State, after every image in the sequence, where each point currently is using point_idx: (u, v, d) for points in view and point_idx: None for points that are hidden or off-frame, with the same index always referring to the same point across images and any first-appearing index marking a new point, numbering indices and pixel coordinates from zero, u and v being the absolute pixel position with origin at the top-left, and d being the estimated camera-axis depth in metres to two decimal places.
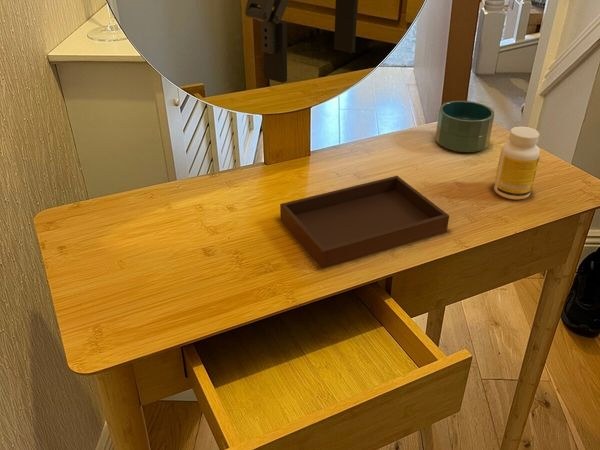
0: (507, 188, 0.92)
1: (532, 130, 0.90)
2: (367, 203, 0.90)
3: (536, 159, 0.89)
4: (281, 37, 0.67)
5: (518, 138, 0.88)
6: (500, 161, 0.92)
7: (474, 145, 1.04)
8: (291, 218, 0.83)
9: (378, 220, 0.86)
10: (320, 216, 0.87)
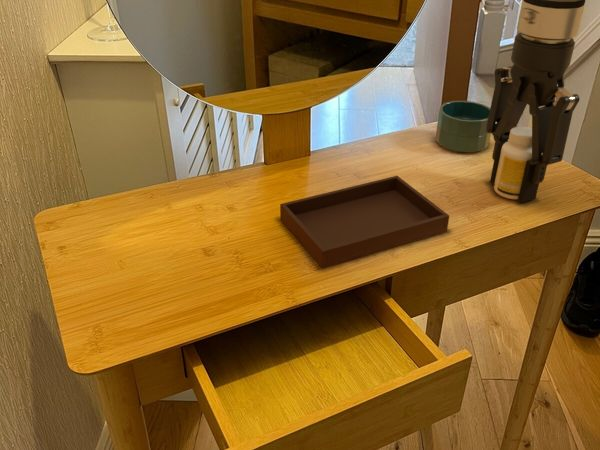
0: (508, 188, 0.92)
1: None
2: (367, 203, 0.90)
3: None
4: None
5: (518, 138, 0.88)
6: (500, 161, 0.92)
7: (474, 145, 1.04)
8: (291, 218, 0.83)
9: (378, 220, 0.86)
10: (320, 216, 0.87)
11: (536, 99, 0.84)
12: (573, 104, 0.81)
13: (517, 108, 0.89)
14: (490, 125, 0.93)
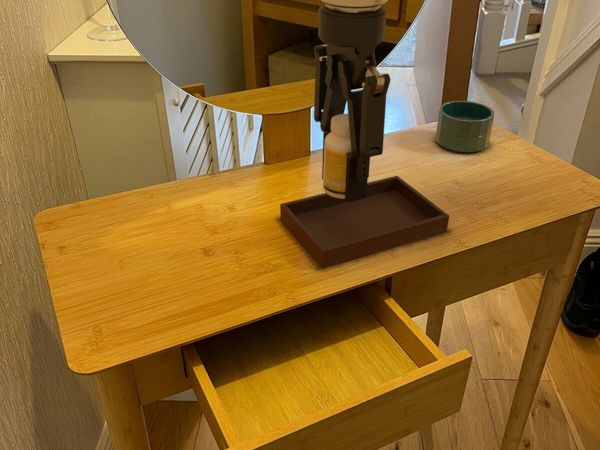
0: (332, 186, 0.79)
1: None
2: (367, 203, 0.90)
3: None
4: None
5: (336, 126, 0.75)
6: (324, 154, 0.79)
7: (474, 145, 1.04)
8: (291, 218, 0.83)
9: (378, 220, 0.86)
10: (320, 216, 0.87)
11: (347, 80, 0.71)
12: (383, 85, 0.68)
13: (337, 92, 0.76)
14: (317, 113, 0.80)
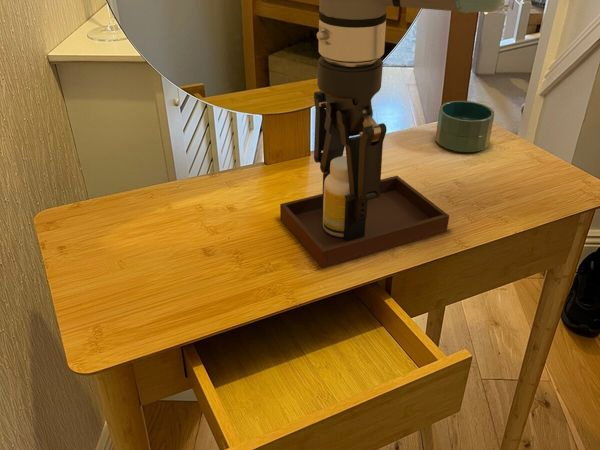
0: (332, 225, 0.82)
1: None
2: None
3: None
4: None
5: (335, 170, 0.78)
6: None
7: (474, 145, 1.04)
8: (291, 218, 0.83)
9: (378, 220, 0.86)
10: (320, 216, 0.87)
11: (345, 128, 0.74)
12: (380, 135, 0.71)
13: (336, 136, 0.79)
14: (316, 154, 0.84)
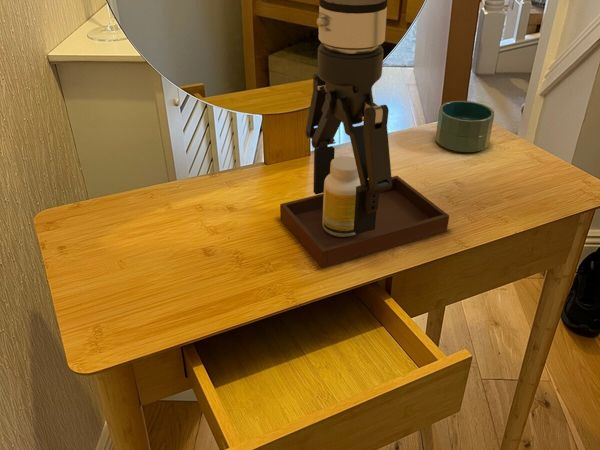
0: (332, 225, 0.82)
1: None
2: None
3: None
4: None
5: (336, 170, 0.78)
6: None
7: (474, 145, 1.04)
8: (291, 218, 0.83)
9: (378, 220, 0.86)
10: (320, 216, 0.87)
11: (345, 116, 0.73)
12: (382, 116, 0.70)
13: (331, 120, 0.79)
14: (308, 131, 0.84)
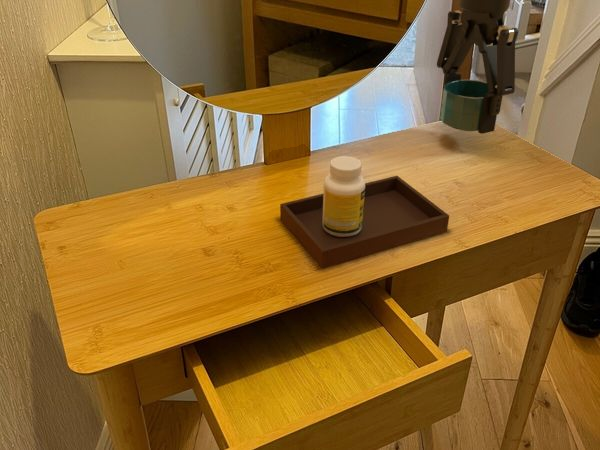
0: (332, 225, 0.82)
1: (355, 161, 0.80)
2: (367, 203, 0.90)
3: (359, 193, 0.80)
4: None
5: (335, 170, 0.78)
6: (323, 195, 0.82)
7: (479, 123, 1.02)
8: (291, 218, 0.83)
9: (378, 220, 0.86)
10: (320, 216, 0.87)
11: (481, 38, 0.96)
12: (513, 36, 0.93)
13: (464, 47, 1.02)
14: (440, 61, 1.07)
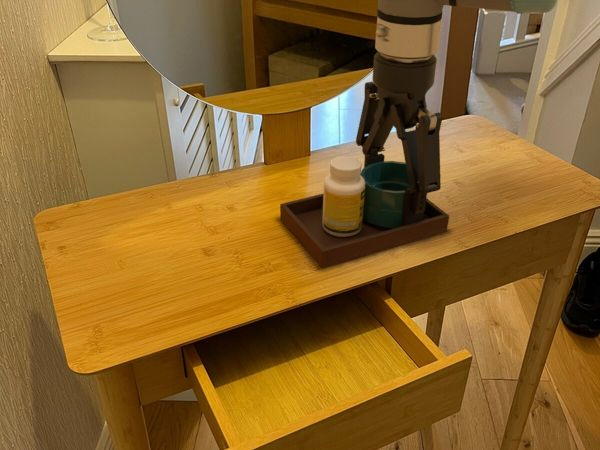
0: (332, 225, 0.82)
1: (355, 161, 0.80)
2: None
3: (359, 193, 0.80)
4: None
5: (335, 170, 0.78)
6: (323, 195, 0.82)
7: None
8: (291, 218, 0.83)
9: None
10: (320, 216, 0.87)
11: (399, 122, 0.77)
12: (436, 123, 0.74)
13: (383, 126, 0.83)
14: (359, 139, 0.88)
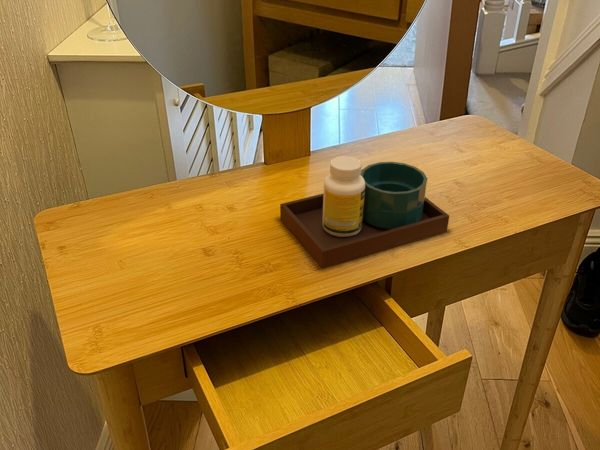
0: (332, 225, 0.82)
1: (355, 161, 0.80)
2: None
3: (359, 193, 0.80)
4: None
5: (335, 170, 0.78)
6: (323, 195, 0.82)
7: (401, 221, 0.83)
8: (291, 218, 0.83)
9: None
10: (320, 216, 0.87)
11: None
12: None
13: None
14: None
